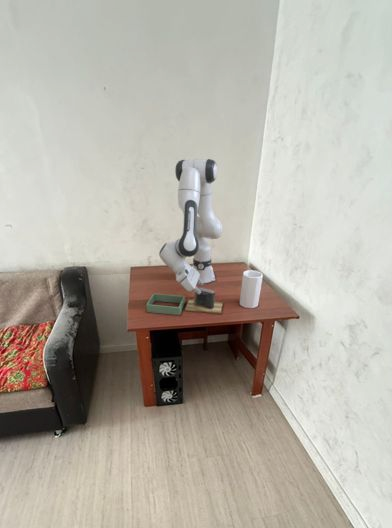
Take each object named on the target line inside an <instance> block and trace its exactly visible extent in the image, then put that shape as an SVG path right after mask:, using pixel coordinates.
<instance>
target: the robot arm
mask: <svg viewBox="0 0 392 528" xmlns="http://www.w3.org/2000/svg"><path fill="white" fill-rule="evenodd" d="M174 171H175V178H176V180H177V181H178V189H177V205H178V208H179V209H180V210H181V211H182V214H183V226H182V227H183V228H182V235H181V237H180V238H178V239H175V240H174V241H171V242H166V243H164V244H163V245H162V247H161V248H160V250H159V253H158V256H159V258H160V259H161V261H162V262H163V263H164V264H165V266H167V267H168V268H169V269H171V271H172V272H173V273H174V275H175V279H176V282H177V283H178V284H180V286H182V288H184V289H185V290H186V291H187V292H189V293H192V292H194V293H195V292H197V293H198V294H200V293H201V291H200V289H197V285H199V286H198V287H200V288H203V286H204V284H207V283H211V282H215V281H216V276H215V272H214V268H213V266H212V246H211V244H210V243H209V241H208V240H207V239H209V240H217V239H219V238H220V237H221V236H222V235H223V231H224V227H223V224H222V222H221V221H220V219H218V218H217V215H216V213H215V211H214V207H213V196H212V195H213V193H212V192H213V191H212V183H214V182H215V181H216V179H217V176H218V165H217V162H216V161H215V160H214V159H212V158H211V159H210V158H208V159H206V158H192V159H181V160H178V161H177V163H176V165H175V170H174ZM187 257H188V258H191V257H193V258H192V265H190V263H188V261H187V260H186V258H187Z"/></svg>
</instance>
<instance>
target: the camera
mask: <svg viewBox="0 0 392 528" xmlns="http://www.w3.org/2000/svg"><path fill="white" fill-rule="evenodd" d="M196 287H197V286H196ZM197 289H200V291H201V293H200V294H198V293H197V292H194V298H193V300H194V304H195V305H196V306H201V307H205V308H210V309H212V308H214V302H215V298H216V291H215V290H212V289H210V288H205V287H200V286H198V287H197Z"/></svg>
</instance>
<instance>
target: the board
mask: <svg viewBox="0 0 392 528" xmlns="http://www.w3.org/2000/svg"><path fill="white" fill-rule="evenodd" d="M223 305H224V304H223V302H222V301H221V302H220V301H214V308H212V309H210V308H205V307H201V306H196V305H195V304H194V299H188V300H187V303H186V306H185V308H184V311H187V312H195V313H196V312H197V313H207V314H216V315H222V310H223Z"/></svg>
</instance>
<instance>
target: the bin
mask: <svg viewBox="0 0 392 528" xmlns="http://www.w3.org/2000/svg"><path fill="white" fill-rule="evenodd" d="M185 300H186V297H185V295H177V294H176V295H175V294H166V293H165V294H164V293H155V292H153V294H152V295H151V297H150V298H149V299H148V301H147V303H146V305H145V306H146V312H147V313H153V314H164V315H173V316H181V314H182V311H183V308H184V306H185V303H186V301H185ZM155 302H163V303H174V304H179V306H169V305H160V304H154V303H155Z"/></svg>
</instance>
